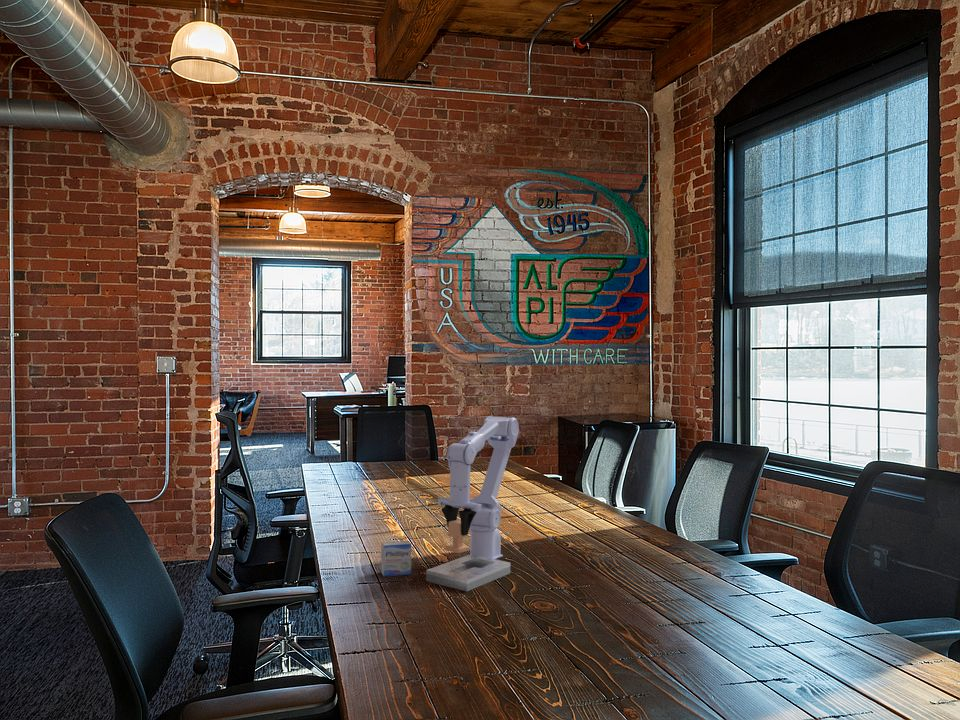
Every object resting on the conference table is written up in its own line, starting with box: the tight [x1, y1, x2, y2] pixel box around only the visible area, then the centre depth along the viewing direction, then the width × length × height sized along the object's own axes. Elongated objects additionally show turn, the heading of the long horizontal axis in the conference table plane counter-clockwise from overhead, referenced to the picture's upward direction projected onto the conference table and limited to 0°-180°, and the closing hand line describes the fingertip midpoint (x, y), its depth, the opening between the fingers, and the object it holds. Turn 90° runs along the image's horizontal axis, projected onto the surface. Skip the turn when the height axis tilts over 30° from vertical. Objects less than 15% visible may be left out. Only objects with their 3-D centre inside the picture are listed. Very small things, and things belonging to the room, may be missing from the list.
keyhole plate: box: [425, 554, 511, 592], centre depth 207 cm, size 20×14×3 cm
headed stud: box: [444, 519, 470, 554], centre depth 213 cm, size 5×5×8 cm
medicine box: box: [380, 540, 412, 577], centre depth 210 cm, size 8×4×9 cm, turn 105°
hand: (458, 533), depth 213 cm, fingers closed on headed stud, 4 cm apart
